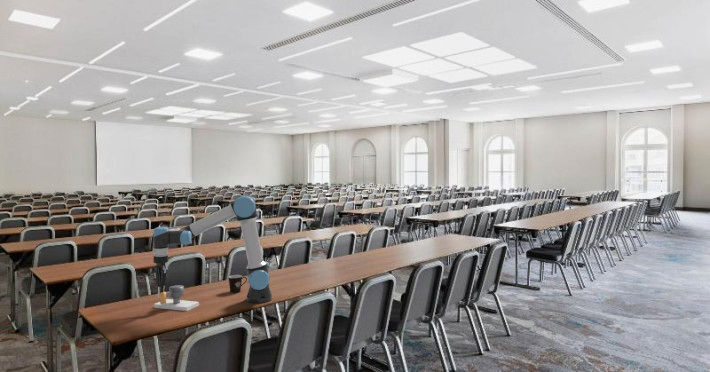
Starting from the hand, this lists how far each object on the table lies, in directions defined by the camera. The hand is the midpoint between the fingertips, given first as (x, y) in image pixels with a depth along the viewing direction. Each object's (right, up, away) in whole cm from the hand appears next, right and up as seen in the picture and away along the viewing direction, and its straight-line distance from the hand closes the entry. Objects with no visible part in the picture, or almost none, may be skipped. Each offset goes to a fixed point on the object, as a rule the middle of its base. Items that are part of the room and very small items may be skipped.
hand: (160, 297), depth 243 cm
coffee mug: (+32, -7, +41) cm, 52 cm away
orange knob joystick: (+4, -3, +5) cm, 7 cm away
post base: (+5, -8, +9) cm, 13 cm away
